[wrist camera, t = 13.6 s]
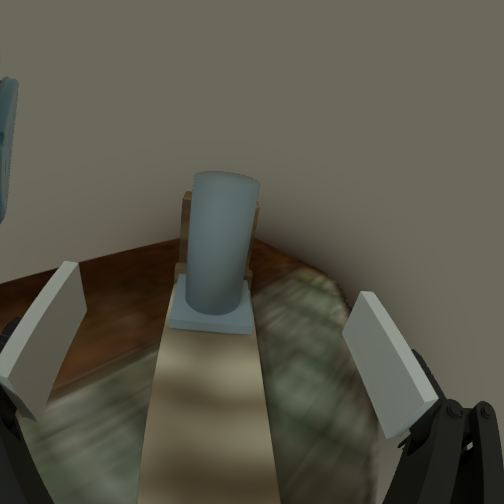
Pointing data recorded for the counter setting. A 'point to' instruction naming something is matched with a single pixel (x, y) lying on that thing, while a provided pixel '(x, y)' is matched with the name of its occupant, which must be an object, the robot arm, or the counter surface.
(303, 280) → the counter surface
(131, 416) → the counter surface
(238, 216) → the grey cylinder on base
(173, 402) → the rail
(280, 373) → the counter surface
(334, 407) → the counter surface
